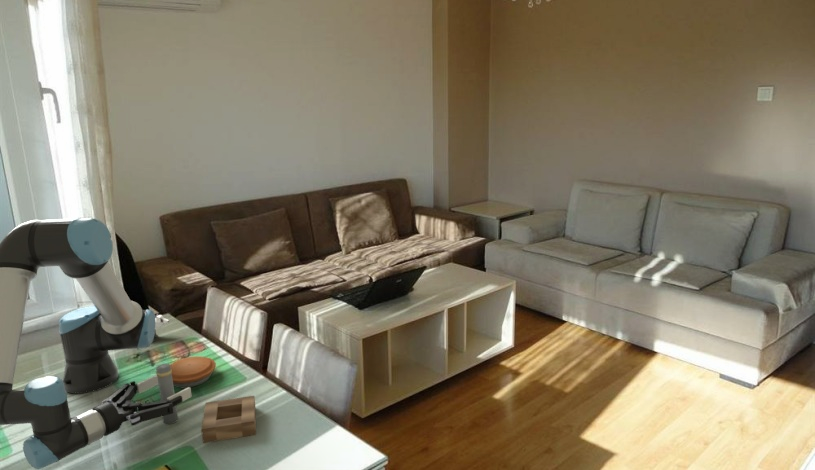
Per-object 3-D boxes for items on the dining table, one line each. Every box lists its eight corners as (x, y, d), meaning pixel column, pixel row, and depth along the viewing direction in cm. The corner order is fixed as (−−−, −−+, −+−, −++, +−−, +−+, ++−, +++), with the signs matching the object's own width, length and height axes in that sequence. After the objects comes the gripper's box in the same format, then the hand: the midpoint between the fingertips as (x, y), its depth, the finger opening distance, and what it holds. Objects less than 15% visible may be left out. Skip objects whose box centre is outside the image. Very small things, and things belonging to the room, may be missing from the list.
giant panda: (126, 343, 205) (122, 319, 203) (131, 337, 210) (128, 313, 208) (169, 341, 207) (165, 316, 204) (173, 334, 212) (170, 310, 210)
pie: (220, 383, 176) (219, 369, 175) (166, 396, 170) (164, 381, 169) (213, 363, 190) (211, 349, 189) (162, 373, 183) (160, 359, 182)
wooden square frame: (207, 415, 159) (205, 402, 158) (255, 408, 162) (254, 395, 161) (203, 442, 147) (201, 429, 146) (255, 434, 150) (254, 421, 149)
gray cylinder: (164, 417, 159) (156, 364, 155) (179, 415, 160) (171, 362, 156) (162, 425, 155) (154, 371, 151) (177, 422, 156) (170, 369, 152)
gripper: (73, 420, 148) (149, 385, 165) (129, 453, 134) (205, 410, 151) (68, 394, 146) (145, 361, 163) (124, 424, 132) (202, 384, 149)
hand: (174, 384), depth 157 cm, fingers open, 13 cm apart
